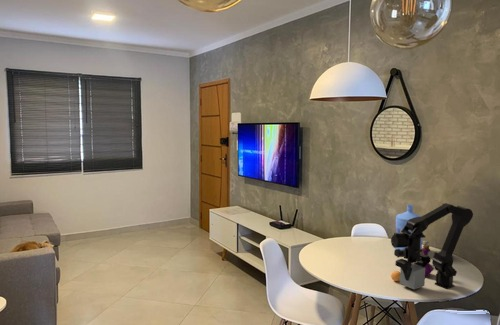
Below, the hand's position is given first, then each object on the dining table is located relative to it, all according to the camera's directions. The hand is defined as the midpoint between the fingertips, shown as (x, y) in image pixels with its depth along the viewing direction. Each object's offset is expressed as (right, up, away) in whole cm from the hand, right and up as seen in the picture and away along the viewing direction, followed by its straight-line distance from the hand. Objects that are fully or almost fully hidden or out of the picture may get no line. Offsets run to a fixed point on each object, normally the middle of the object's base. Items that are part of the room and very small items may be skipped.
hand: (412, 278), depth 179 cm
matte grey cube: (0, -3, 0) cm, 3 cm away
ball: (-4, -1, +8) cm, 9 cm away
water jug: (+21, +1, +54) cm, 58 cm away
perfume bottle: (+13, -3, +16) cm, 21 cm away
